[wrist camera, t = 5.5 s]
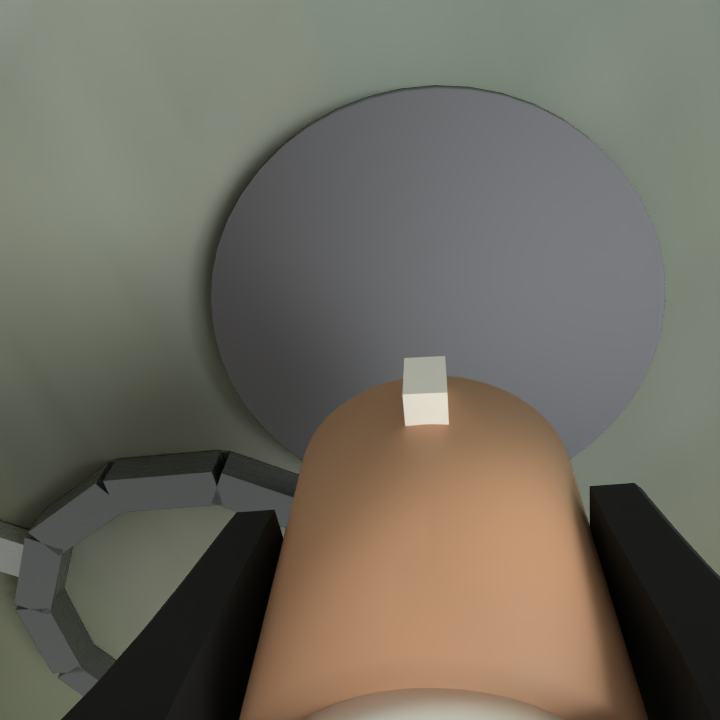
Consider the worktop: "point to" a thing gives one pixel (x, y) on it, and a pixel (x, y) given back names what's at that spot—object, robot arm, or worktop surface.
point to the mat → (438, 263)
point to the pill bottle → (439, 569)
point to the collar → (97, 507)
